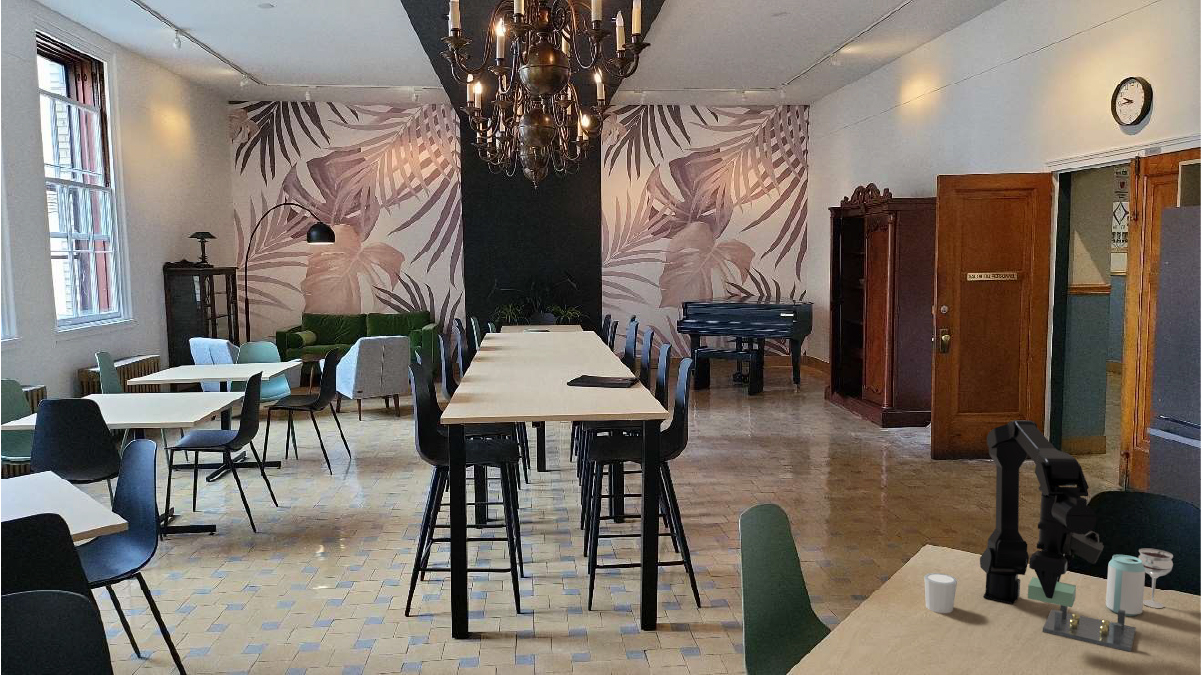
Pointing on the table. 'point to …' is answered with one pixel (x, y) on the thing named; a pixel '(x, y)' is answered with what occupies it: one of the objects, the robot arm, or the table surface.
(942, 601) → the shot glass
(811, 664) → the table surface
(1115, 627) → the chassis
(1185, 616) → the table surface
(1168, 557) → the wineglass
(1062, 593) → the green rectangular block
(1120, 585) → the can
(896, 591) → the table surface
